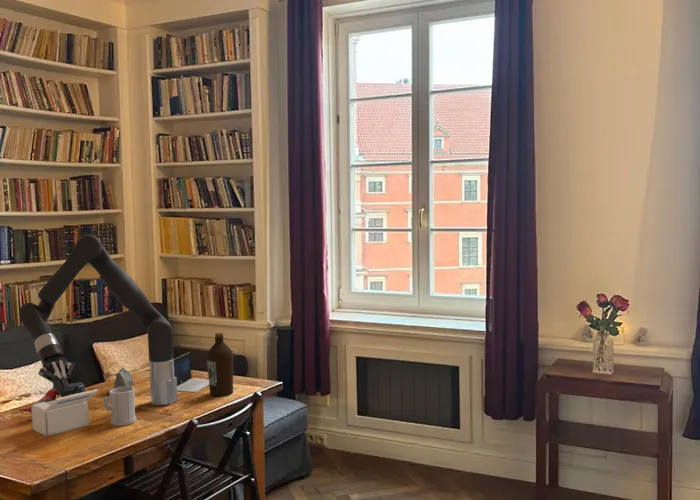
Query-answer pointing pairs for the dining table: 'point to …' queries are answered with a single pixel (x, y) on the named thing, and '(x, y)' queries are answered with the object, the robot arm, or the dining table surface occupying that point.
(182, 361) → the laptop
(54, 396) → the decorative bird figurine
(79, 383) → the box
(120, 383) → the mineral rock
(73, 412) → the carton
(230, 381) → the brown bottle
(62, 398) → the flap
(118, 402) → the cup
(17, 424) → the dining table surface
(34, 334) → the robot arm
